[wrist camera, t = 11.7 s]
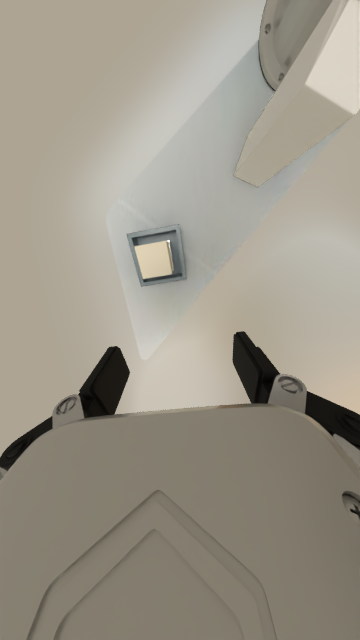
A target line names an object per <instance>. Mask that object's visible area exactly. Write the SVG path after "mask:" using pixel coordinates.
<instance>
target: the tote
mask: <svg viewBox="0 0 360 640" xmlns="http://www.w3.org/2000/svg"><path fill="white" fill-rule="evenodd" d="M127 238H128V241H129V245H130V248H131V252H132V255H133V259H134V262H135V266H136V270H137V273H138V277H139V280H140V284H141V286H148V285H154V284H160V283H166V282H172V281H179V280H185V279H186V272H185V265H184V257H183V250H182V242H181V235H180V227H179V224H178V225H172V226H167V227H162V228H156V229H151V230H145V231H140V232H135V233H129V234H127ZM168 240H169V241H170V242H171V248H172V254H173V261H174V267H175V268H174V270H173V272H172V274H170V275H164V276H158V277H152V278H146V279H143V277H142V273H141V270H140V266H139V262H138V259H137V255H136V251H135V248H134V246H139V245H145V244H150V243H156V242H161V241H168Z"/></svg>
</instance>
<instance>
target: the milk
mask: <svg viewBox="0 0 360 640" xmlns="http://www.w3.org/2000/svg"><path fill="white" fill-rule="evenodd" d="M359 110H360V0H333V1H332V2H331V4H330V6H329V7H328V9H327V10H326V12H325V14H324V15H323V17H322V18H321V20H320V21H319V23H318V25H317V26H316V28H315V29H314V31H313V33H312V34H311V36H310V37H309V39H308V41H307V42H306V44H305V45H304V47H303V49H302V50H301V52H300V53H299V55H298V57H297V58H296V60H295V61H294V63H293V64H292V66H291V68H290V69H289V71H288V72H287V74H286V76H285V77H284V79H283V80H282V82H281V84H280V85H279V87H278V88H277V90H276V92H275V93H274V95H273V96H272V98H271V100H270V101H269V103H268V104H267V106H266V107H265V109H264V111H263V112H262V114H261V115H260V117H259V119H258V120H257V122H256V123H255V125H254V127H253V128H252V130H251V131H250V133H249V135H248V136H247V139H246V142H245V145H244V147H243V150H242V153H241V156H240V159H239V161H238V164H237V167H236V170H235V172H234V176H235V177H237V178H239V179H242V180H244V181H246V182H248V183H250V184H252V185H254V186H257V187H259V186H260V185H262V184H263V183H264V182H266V181H267V180H268V179H270V178H271V177H272V176H274V175H275V174H276V173H278V172H279V171H280V170H282V169H283V168H284V167H286V166H287V165H289V164H290V163H291V162H293V161H294V160H295V159H297V158H298V157H299V156H301V155H302V154H303V153H305V152H306V151H307V150H309V149H310V148H311V147H313V146H314V145H315V144H317V143H318V142H319V141H321V140H322V139H323V138H325V137H326V136H327V135H329V134H330V133H332V132H333V131H334V130H336V129H337V128H338V127H340V126H341V125H342V124H344V123H345V122H346V121H348V120H349V119H350V118H352V117H353V116H354V115H355V114H356V113H357V112H358V111H359Z"/></svg>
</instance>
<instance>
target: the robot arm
mask: <svg viewBox="0 0 360 640" xmlns="http://www.w3.org/2000/svg"><path fill="white" fill-rule="evenodd" d="M332 1H333V0H267V1H266V4H265V8H264V11H263V15H262V20H261V26H260V36H259V55H260V61H261V67H262V70H263V73H264V76H265V78H266V80H267V81H268V83H269V84H270V85H271V87H272V88H273V89H275V90H277V88H278V87H279V85H280V84H281V82H282V80H283V79H284V77H285V76H286V74H287V72H288V71H289V69H290V68H291V66H292V64H293V63H294V61H295V60H296V58H297V57H298V55H299V53H300V52H301V50H302V49H303V47H304V45H305V44H306V42H307V41H308V39H309V37H310V36H311V34H312V33H313V31H314V29H315V28H316V26H317V25H318V23H319V21H320V20H321V18H322V17H323V15H324V14H325V12H326V10H327V9H328V7H329V6H330V4H331V2H332ZM233 364H234V366H235V369H236V371H237V373H238V375H239V377H240V379H241V382H242V384H243V386H244V388H245V390H246V393H247V395H248V397H249V399H250V401H251V403H252V404H234V405H220V406H207V407H196V408H183V409H171V410H160V411H148V412H137V413H127V414H116V415H114V414H115V411H116V408H117V406H118V403H119V401H120V398H121V395H122V393H123V390H124V388H125V385H126V382H127V380H128V377H129V373H130V372H129V369H128V366H127V364H126V361H125V359H124V357H123V354H122V352H121V350H120V348H118V347H117V346H114V347H109V348H108V349H107V351H106V352H105V354H104V355H103V357H102V358H101V360H100V361H99V363H98V364H97V365H96V367H95V368H94V370H93V371H92V373H91V374H90V376H89V377H88V379H87V380H86V382H85V383H84V384H83V386H82V387H81V389H80V393H79V394H78V395H77V394H74V395H70V396H68V397H66V398H64V399H63V400H62V401H60V403H58V404H57V406H56V407H55V408H54V410H53V416H51V417H50V418H48V419H47V420H45V421H44V422H42V423H41V424H39V425H38V426H36V427H35V428H33V429H32V430H30V431H29V432H27V433H26V434H24V435H23V436H21V437H20V438H18V439H17V440H16V441H14V442H13V443H12V444H11V445H10V446H9V447H8V448H7V449H6V450H5V451H4V452H3V454H2V456H1V457H0V640H360V415H359V414H357V413H355V412H353V411H351V410H349V409H347V408H344V407H342V406H340V405H337V404H335V403H333V402H331V401H328V400H326V399H324V398H322V397H319V396H317V395H315V394H313V393H310V392H308V391H307V389H306V387H305V385H304V384H303V383H302V382H301V381H300V380H299V379H297V378H295V377H293V376H291V375H287V374H280V373H279V372H278V370H277V369H276V368H275V367H274V365H273V364H272V363H271V362H270V360H269V359H268V358H267V356H266V355H265V354H264V353H263V351H262V350H261V349H260V348H259V347H256V346H255V345H254V343H253V342H252V341H251V340H250V338H249V337H248V336H247V334H246V333H245V332H237V333H236V334H234V343H233Z"/></svg>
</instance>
